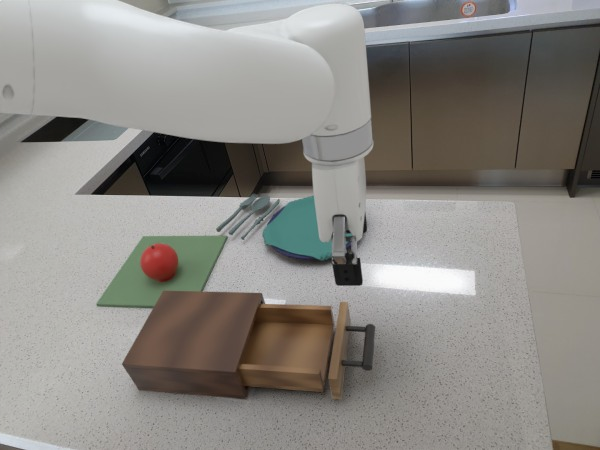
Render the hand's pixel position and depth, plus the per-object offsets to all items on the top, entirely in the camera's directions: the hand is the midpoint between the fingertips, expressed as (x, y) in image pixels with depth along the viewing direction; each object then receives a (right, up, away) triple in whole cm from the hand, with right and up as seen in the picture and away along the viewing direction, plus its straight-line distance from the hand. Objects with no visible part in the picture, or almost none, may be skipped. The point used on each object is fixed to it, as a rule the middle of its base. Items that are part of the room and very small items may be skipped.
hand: (352, 256), depth 58 cm
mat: (-33, -5, +34) cm, 48 cm away
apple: (-34, -3, +29) cm, 45 cm away
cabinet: (-21, -17, +15) cm, 31 cm away
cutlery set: (-8, +3, +38) cm, 39 cm away
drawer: (-6, -16, +11) cm, 20 cm away
